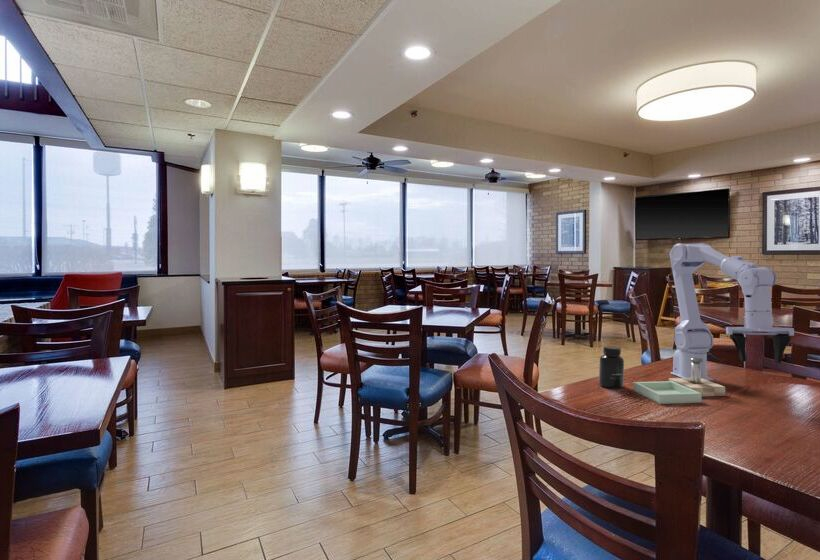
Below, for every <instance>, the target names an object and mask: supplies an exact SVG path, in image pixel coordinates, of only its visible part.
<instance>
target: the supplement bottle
mask: <svg viewBox="0 0 820 560" xmlns="http://www.w3.org/2000/svg"><path fill="white" fill-rule="evenodd" d="M602 352H603V354H602V355H601V356H599V367H598V369H599V372H598V376H599V377H598V383H599V386H601V387H603V386H604V387H603V388H606V387H608V388H607V389H611V388H620V389H622V388H623V387H624V378H625V377H624V373H625V371H624V370H625V360H624V358H623V357H622V356H621V354H622V353H621V352H622V350H621V347H619V346H612V345H611V346H608V345H607V346H606V345H605V346H603V351H602Z"/></svg>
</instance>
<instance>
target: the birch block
mask: <svg viewBox="0 0 820 560" xmlns="http://www.w3.org/2000/svg"><path fill="white" fill-rule="evenodd" d="M667 381H673V382H675V383H678V384H680V385H682V386H685V387H687V388H690V389H692V390H695V391H697V392H699V393H702V397H720V396H721V397H722V396H726V386H723V385H721V384H719V383H715V382H714V381H712V380H711V381H708V380H705V379H702V378H701V384H693V383H691V378H681V377H669V378H668V380H667Z"/></svg>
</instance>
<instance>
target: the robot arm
mask: <svg viewBox="0 0 820 560" xmlns="http://www.w3.org/2000/svg"><path fill="white" fill-rule="evenodd" d="M669 258H670V264H671V266H670V267H671V270H672V277H673V282H674V288H675V294H676V299H677V304H678V311H679V315H680V321H681V322H680V323H679V324H678V325H677V326H675V327H674V337H673V339H674V340H673V341H674V345H675V346H676V348H677V349H676V350H675V352H673V358H672V360H673V361H672V371H670V374H671V375H673V376H676V377H677V378H691V361H690V358H692V357H694V358H701V359H703V362H701V378H702V379H705V380H708V381H711V382H712V381H714V379H713V378H711V377H708V376H707V365H708V364H707V361H708V360H707V357H708V355H707V353H708V352H710V349H712V347H713V346H714V340H715V339H714V337H713V334H712V332H711V330H710V326H709V325H708V324H706V323H705V322H704V321H703V320H701V314H700V309H699V304H698V298H697V292H696V287H695V283H694V282H695V281H694V277H693V274H694V272H695V271H696V270H698V269H699V268H700V267H701V266H702V265H704V264H705V263H706V262H707V263H710V264H712V265H714V266H716V267H719V268H720V271H721V273H722V274H723V275H726V276H728V277H729V278H732V279H733V280H735V281H737V282H738V285H739V286H740V288H741V292H742V294H743V295H744V298H743V299H744V319H745V320H744V322H745V326H726V327H725V334H726V335H729V337H730V339H731V341H732V342H733V343H734V346H735V347H736V351H737V352H738V357H739V360H740V361H741V362H747V356H746V355H747V354H746V353H747V351H746V345H747V344H746V343H747V337H746V336H747V335H753V336H754V335H755V336H762V335H763V336H766V335H767V336H771V338H772V344H773V359H774V363H777V364H781V363H782V359H783V355H784V352H785V350H786V348H787V346H788V344H789V343H790V342H791V339H792V336H795V329H794V327H793V328H792V327H776V326H775V327H773V310H772V308H773V307H772V289H771V288H772V287H773V286H775V284H776V282H777V275H776V273H775V270H773V269H771V268H770V267H768V266H761V267H759V266H757V263H754V262H749V261H747V260H744V259H743V258H744V257H743V256H741V255H732V256H727V255H725V254H723V253H721V252H720V251H717V250H716V249H714V248H712V245H708V244H706V243H701V242H700V243H680V242H679V243H676V244H674V245H673V247H672V248H671V250H670V252H669ZM745 335H746V336H745Z"/></svg>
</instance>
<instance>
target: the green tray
mask: <svg viewBox="0 0 820 560" xmlns="http://www.w3.org/2000/svg"><path fill="white" fill-rule="evenodd" d="M632 391H633V392H635V393H637V394H639V395H641V396H643V397H645V398H647V399H649V400H650V401H653V402H655V403H657V404H658V405H661V404H662V405H663V404H664V405H666V404H667V405H668V404H693V403H694V404H696V403H699V404H700V403H702V401H703V399H702V397H703V396H702V393H699V392H697V391H695V390H692V389H690V388H687V387H685V386H682V385H680V384H678V383H675V382H673V381H668V380H665V381H663V380H662V381H633V382H632Z"/></svg>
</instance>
